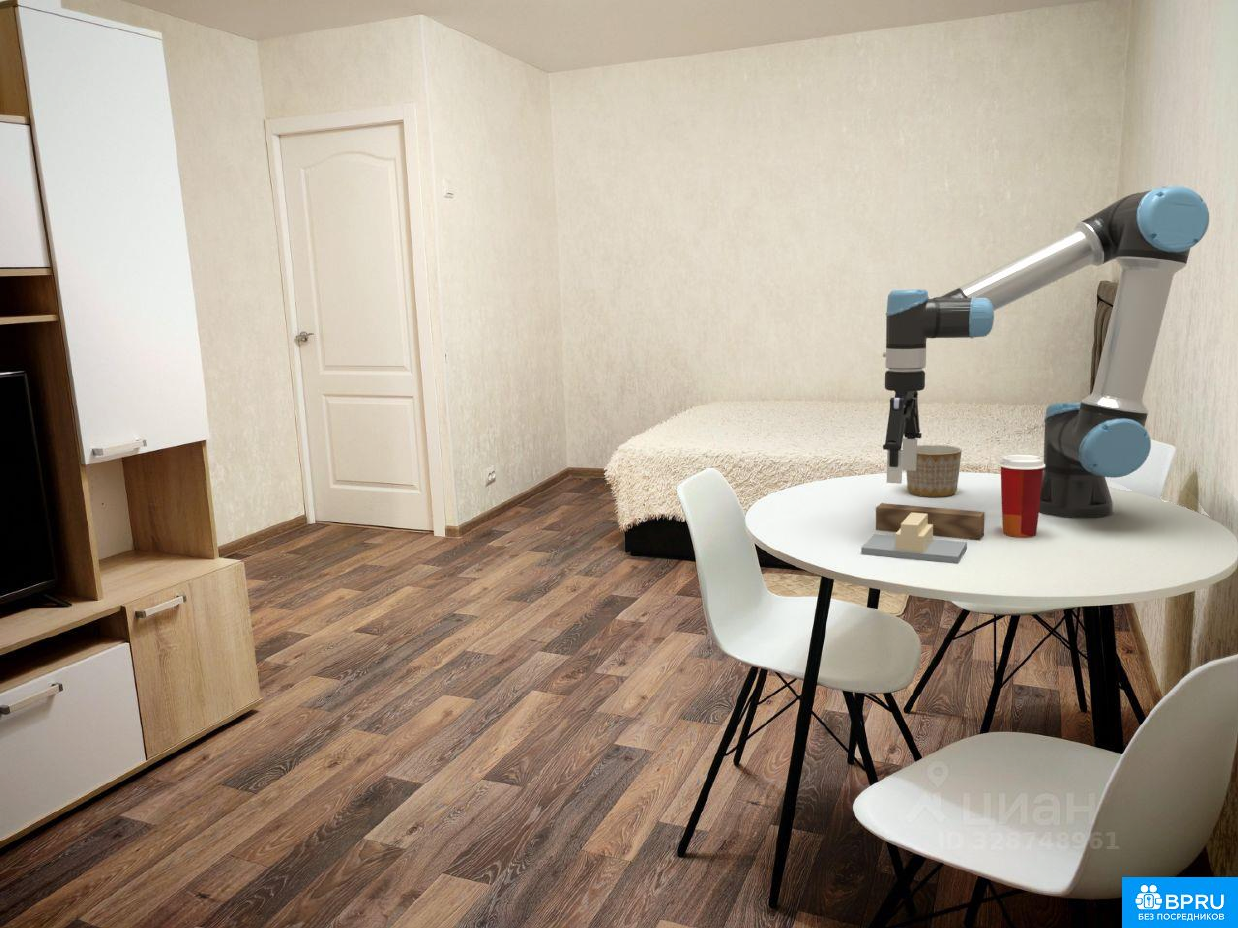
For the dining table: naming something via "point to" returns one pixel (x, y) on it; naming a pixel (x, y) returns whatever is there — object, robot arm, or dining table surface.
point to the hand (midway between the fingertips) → (901, 476)
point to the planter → (935, 471)
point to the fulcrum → (915, 543)
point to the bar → (933, 520)
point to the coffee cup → (1020, 494)
